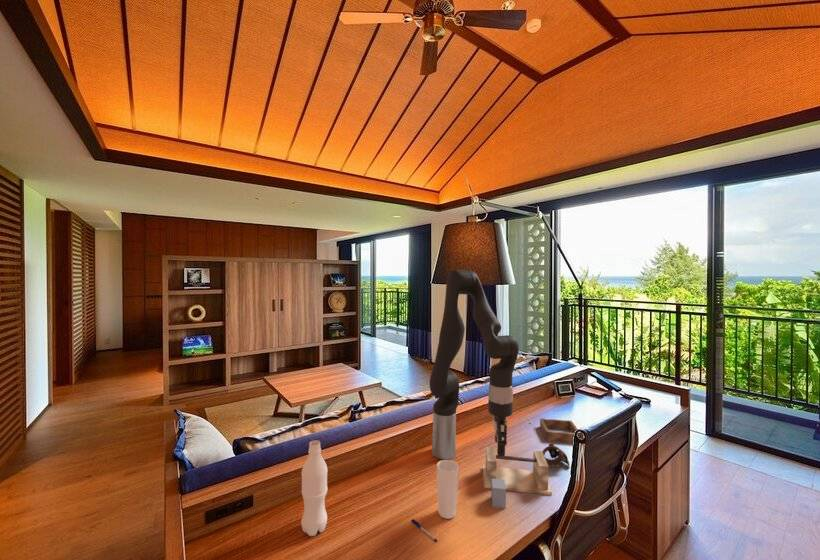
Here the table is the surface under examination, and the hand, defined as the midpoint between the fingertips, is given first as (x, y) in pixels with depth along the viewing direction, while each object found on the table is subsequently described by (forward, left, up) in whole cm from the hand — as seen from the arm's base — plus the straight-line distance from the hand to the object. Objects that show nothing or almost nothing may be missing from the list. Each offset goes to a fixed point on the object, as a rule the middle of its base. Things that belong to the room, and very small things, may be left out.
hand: (499, 448), depth 112 cm
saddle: (0, 0, -18) cm, 18 cm away
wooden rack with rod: (+7, +13, -18) cm, 23 cm away
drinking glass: (-16, -8, -18) cm, 25 cm away
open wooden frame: (+32, +53, -18) cm, 64 cm away
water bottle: (-53, -21, -18) cm, 60 cm away
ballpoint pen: (-22, -16, -18) cm, 33 cm away
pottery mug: (+24, +27, -18) cm, 40 cm away
